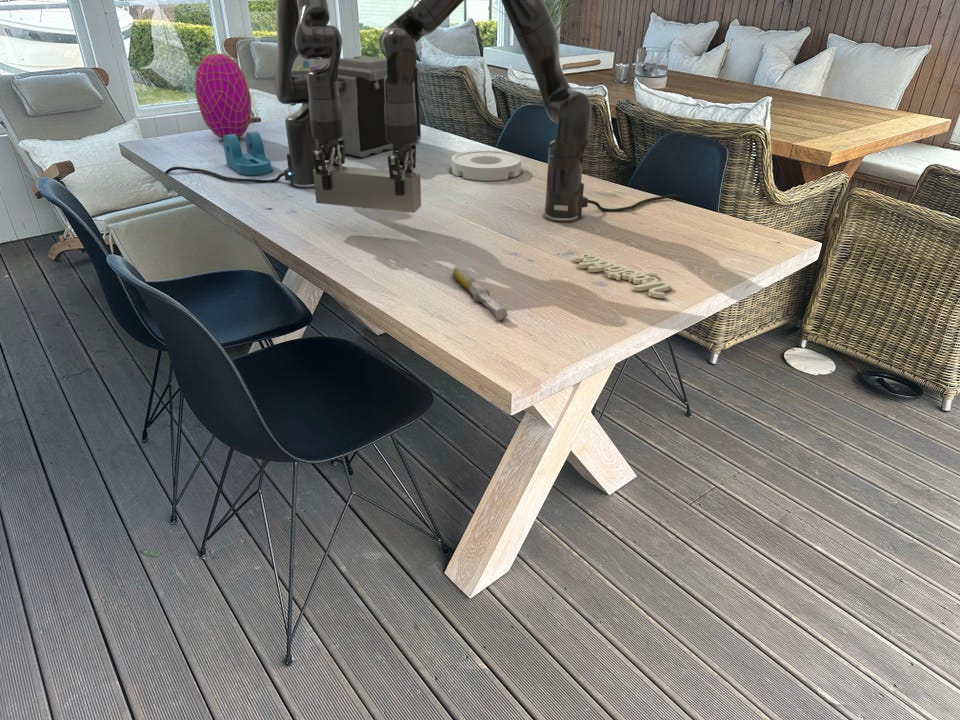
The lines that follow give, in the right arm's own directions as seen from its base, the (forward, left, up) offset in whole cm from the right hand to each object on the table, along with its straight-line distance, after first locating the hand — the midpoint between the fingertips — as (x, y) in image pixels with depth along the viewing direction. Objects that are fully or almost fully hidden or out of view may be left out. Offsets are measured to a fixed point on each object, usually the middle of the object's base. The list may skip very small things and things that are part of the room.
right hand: (404, 191), depth 170 cm
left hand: (+16, -11, 0) cm, 19 cm away
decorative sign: (-39, +41, -12) cm, 58 cm away
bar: (+8, -6, -4) cm, 11 cm away
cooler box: (-15, -97, -12) cm, 99 cm away
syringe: (-4, +40, -12) cm, 42 cm away
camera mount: (+30, -79, -12) cm, 86 cm away
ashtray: (-43, -50, -12) cm, 67 cm away
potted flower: (-2, -145, -12) cm, 146 cm away
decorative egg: (+33, -126, -12) cm, 131 cm away
